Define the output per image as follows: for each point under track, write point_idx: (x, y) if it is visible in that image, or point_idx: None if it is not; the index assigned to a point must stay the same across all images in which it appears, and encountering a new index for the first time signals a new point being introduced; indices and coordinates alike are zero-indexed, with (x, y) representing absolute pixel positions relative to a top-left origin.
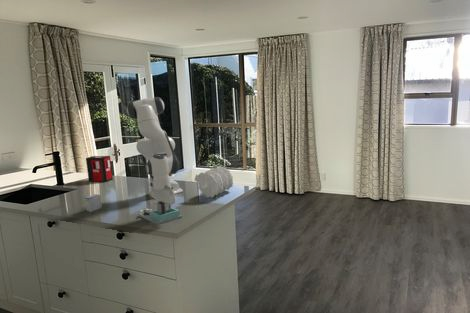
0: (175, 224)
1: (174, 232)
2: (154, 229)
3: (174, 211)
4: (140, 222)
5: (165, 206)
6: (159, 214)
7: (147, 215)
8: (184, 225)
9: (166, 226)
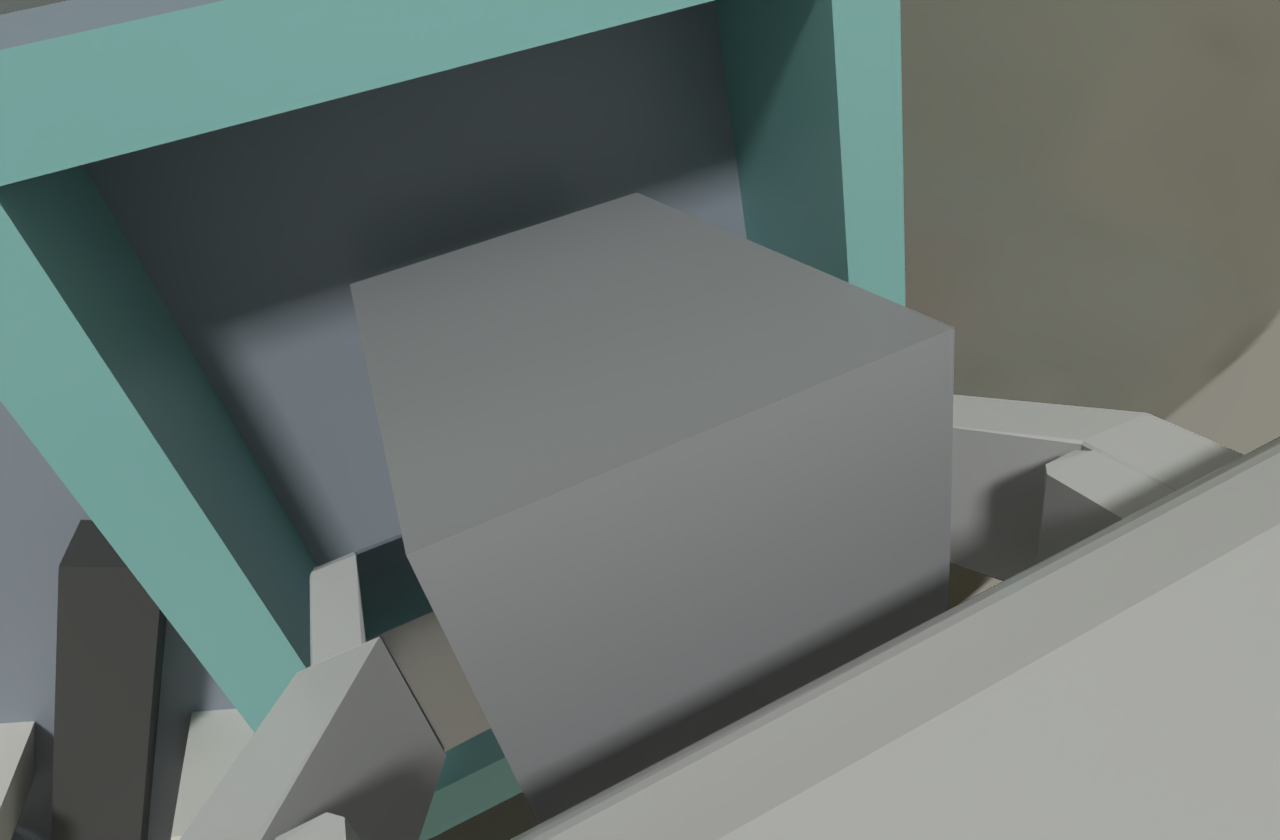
0: (1056, 213)
1: (1273, 317)
2: (975, 582)
3: (878, 114)
4: (506, 832)
5: (961, 546)
6: (288, 524)
7: (172, 816)
8: (1226, 51)
9: (1010, 397)
